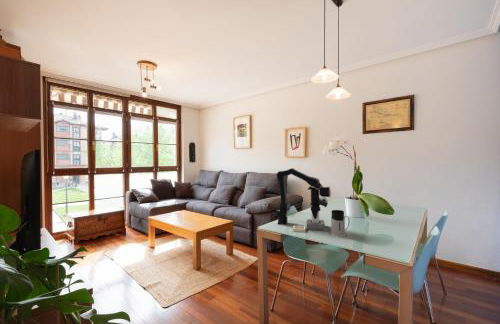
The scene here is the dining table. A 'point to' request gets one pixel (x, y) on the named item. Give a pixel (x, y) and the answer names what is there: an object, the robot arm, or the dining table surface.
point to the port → (315, 225)
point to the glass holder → (338, 223)
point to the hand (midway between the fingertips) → (315, 218)
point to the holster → (299, 228)
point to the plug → (316, 218)
